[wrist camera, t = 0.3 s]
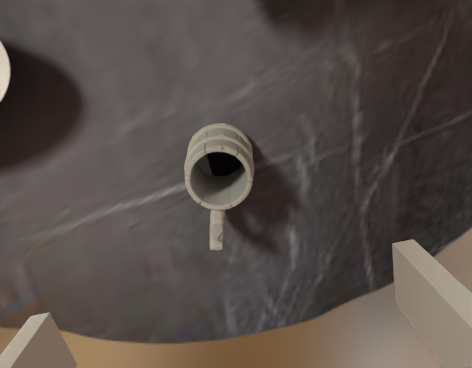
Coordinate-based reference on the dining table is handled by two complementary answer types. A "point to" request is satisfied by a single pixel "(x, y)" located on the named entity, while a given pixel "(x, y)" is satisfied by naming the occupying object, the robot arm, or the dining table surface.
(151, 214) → the dining table surface
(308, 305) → the dining table surface
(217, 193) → the mug
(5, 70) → the bowl
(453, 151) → the dining table surface
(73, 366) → the robot arm
